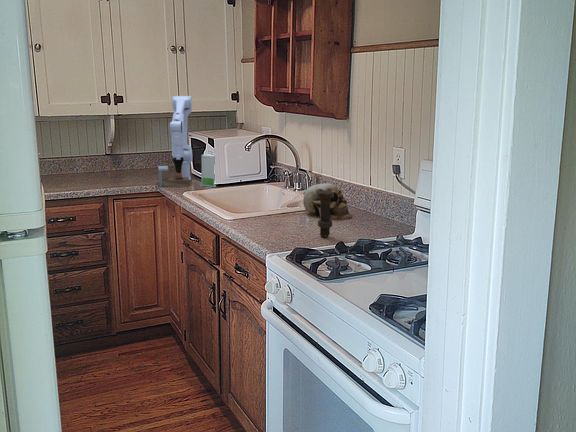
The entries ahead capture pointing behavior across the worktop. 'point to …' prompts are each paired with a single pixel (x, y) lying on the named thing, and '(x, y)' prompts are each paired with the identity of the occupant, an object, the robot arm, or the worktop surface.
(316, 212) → the grey skull
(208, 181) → the skincare box
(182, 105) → the robot arm
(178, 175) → the peg
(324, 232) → the bolt
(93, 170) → the worktop surface
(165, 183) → the socket block
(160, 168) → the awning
